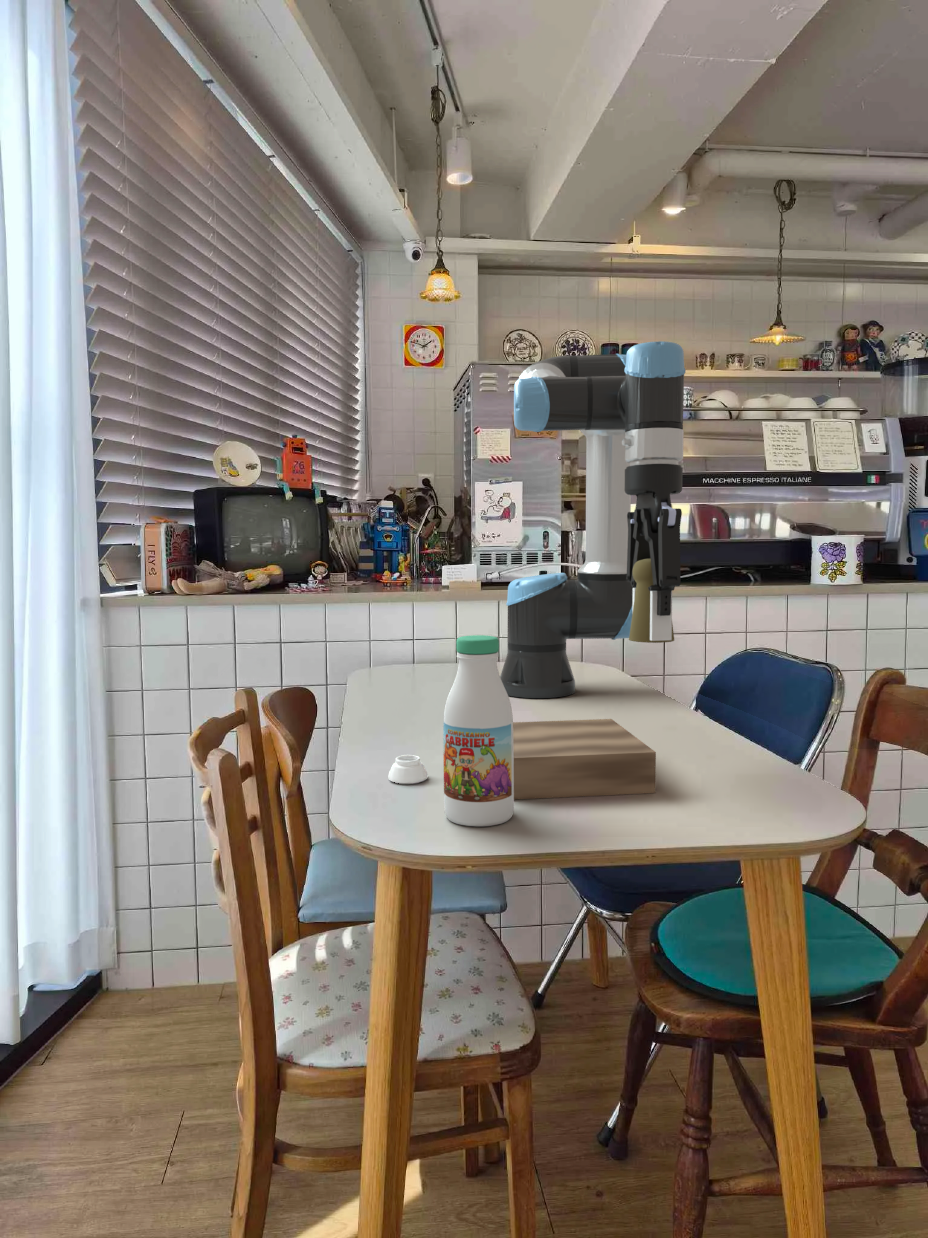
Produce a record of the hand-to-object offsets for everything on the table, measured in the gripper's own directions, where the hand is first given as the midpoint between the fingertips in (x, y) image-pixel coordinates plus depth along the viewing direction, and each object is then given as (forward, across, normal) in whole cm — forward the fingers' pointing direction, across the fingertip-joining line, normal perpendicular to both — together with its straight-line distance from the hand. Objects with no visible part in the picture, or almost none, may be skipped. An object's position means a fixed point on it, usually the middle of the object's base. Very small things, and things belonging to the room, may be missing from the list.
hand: (651, 636), depth 110 cm
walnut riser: (+17, +5, -13) cm, 22 cm away
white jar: (+17, +3, -34) cm, 38 cm away
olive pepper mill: (+1, 0, 0) cm, 1 cm away
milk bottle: (+17, +18, -27) cm, 37 cm away
